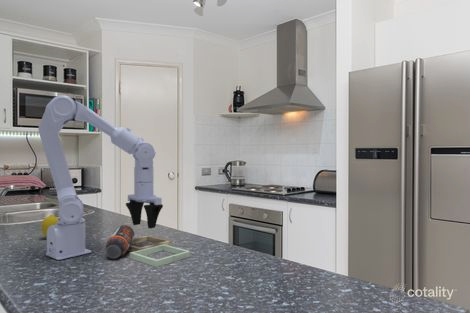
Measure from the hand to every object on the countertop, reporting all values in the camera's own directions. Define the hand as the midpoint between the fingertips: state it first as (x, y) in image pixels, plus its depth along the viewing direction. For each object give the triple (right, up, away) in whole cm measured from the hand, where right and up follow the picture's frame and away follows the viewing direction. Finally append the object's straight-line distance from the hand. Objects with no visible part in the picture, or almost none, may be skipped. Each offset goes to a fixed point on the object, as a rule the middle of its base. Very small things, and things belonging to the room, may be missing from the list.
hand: (144, 226), depth 107 cm
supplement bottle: (-5, -2, -3) cm, 6 cm away
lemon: (-34, -6, +10) cm, 36 cm away
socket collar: (0, -6, 0) cm, 6 cm away
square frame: (+7, -6, -11) cm, 15 cm away
